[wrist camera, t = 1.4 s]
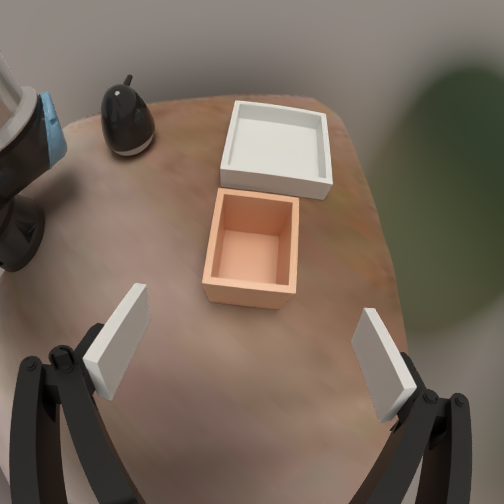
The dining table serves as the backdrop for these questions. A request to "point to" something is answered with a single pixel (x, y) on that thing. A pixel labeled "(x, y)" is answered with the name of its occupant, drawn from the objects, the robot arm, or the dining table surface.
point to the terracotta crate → (252, 249)
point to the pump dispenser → (126, 120)
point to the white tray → (277, 151)
